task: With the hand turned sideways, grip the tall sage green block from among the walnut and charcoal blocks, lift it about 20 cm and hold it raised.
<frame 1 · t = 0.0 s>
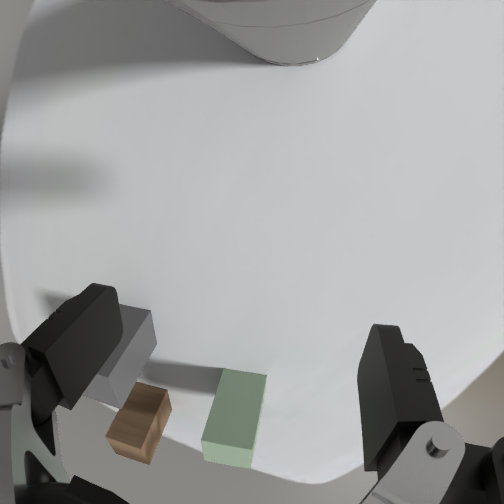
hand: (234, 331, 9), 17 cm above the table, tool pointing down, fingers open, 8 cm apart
walnut block: (153, 395, 41), on the table
sage block: (244, 384, 36), on the table
charcoal block: (134, 323, 35), on the table
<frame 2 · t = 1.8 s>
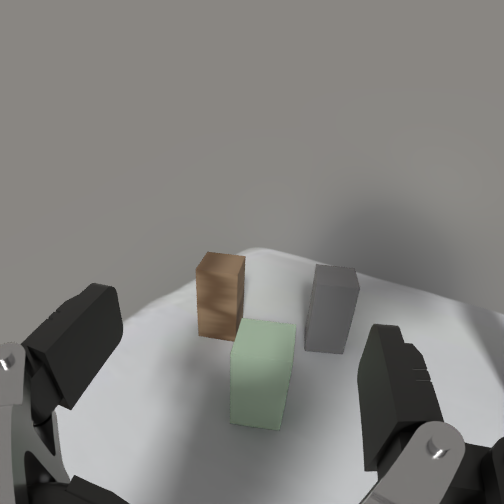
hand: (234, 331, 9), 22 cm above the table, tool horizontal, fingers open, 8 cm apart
walnut block: (221, 327, 44), on the table
sage block: (258, 408, 31), on the table
charcoal block: (323, 340, 42), on the table
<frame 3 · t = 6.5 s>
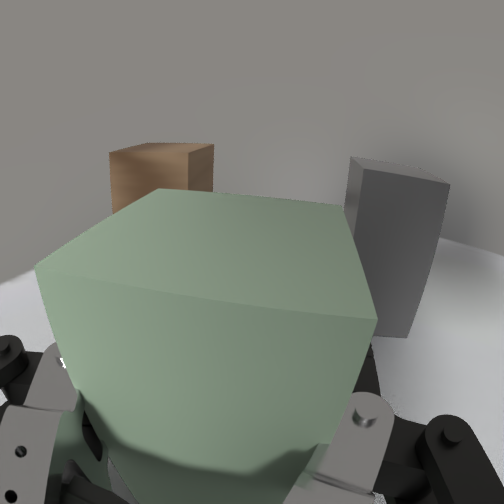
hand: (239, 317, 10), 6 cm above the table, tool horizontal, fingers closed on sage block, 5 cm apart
walnut block: (169, 288, 23), on the table
sage block: (222, 474, 10), on the table, touching gripper
charcoal block: (366, 313, 21), on the table
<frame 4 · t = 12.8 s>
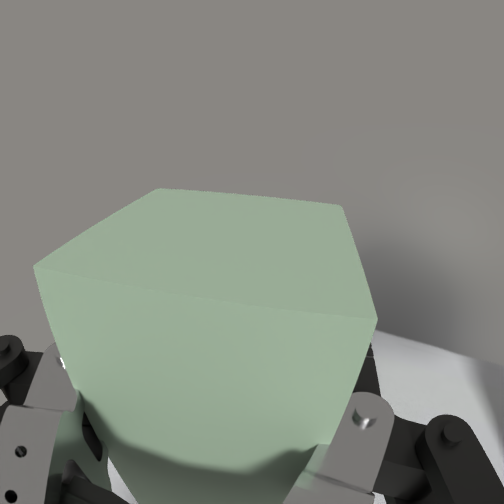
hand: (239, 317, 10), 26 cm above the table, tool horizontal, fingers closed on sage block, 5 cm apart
sage block: (223, 474, 10), point 20 cm above the table, touching gripper
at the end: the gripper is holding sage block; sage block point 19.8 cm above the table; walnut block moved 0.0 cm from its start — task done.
